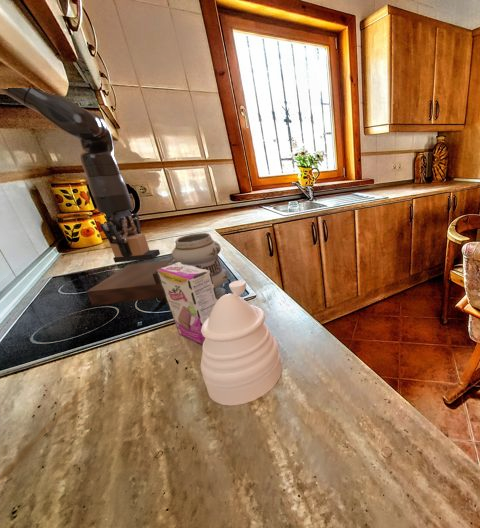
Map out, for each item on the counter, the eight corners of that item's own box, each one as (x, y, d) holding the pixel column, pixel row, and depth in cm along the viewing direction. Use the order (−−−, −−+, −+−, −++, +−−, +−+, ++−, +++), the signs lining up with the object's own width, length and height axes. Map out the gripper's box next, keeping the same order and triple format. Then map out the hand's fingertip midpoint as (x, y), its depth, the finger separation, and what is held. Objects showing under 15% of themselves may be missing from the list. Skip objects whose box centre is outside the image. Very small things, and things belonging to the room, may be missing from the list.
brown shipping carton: (114, 262, 78) (106, 240, 76) (124, 257, 83) (116, 236, 80) (153, 259, 80) (146, 237, 77) (160, 254, 84) (153, 233, 82)
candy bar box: (177, 335, 63) (155, 269, 57) (197, 324, 67) (179, 261, 61) (207, 349, 58) (187, 278, 52) (228, 336, 62) (211, 269, 56)
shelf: (94, 311, 75) (81, 281, 71) (134, 280, 93) (125, 255, 90) (167, 303, 77) (157, 273, 74) (192, 274, 96) (185, 250, 92)
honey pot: (261, 343, 59) (246, 265, 52) (295, 374, 50) (282, 286, 43) (197, 376, 51) (169, 289, 44) (223, 420, 42) (194, 319, 35)
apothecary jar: (179, 298, 80) (161, 238, 73) (221, 283, 88) (207, 228, 81) (195, 312, 72) (176, 247, 65) (239, 294, 80) (226, 235, 73)
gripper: (111, 190, 80) (131, 246, 86) (75, 197, 67) (102, 263, 73) (140, 189, 81) (157, 244, 87) (109, 195, 68) (133, 260, 74)
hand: (132, 252), depth 80 cm, fingers closed on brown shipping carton, 4 cm apart
